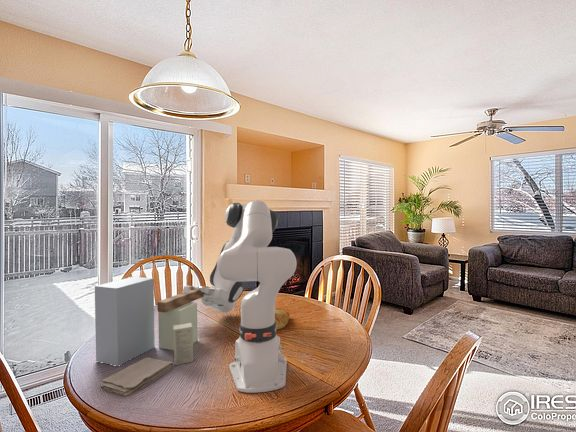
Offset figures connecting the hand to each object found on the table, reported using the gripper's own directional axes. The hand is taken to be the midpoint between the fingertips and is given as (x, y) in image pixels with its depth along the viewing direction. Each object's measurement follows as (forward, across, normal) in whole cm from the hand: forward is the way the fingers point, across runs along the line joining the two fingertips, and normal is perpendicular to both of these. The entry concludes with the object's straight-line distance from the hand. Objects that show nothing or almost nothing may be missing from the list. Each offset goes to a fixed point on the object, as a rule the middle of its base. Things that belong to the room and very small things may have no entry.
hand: (194, 287), depth 128 cm
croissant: (-28, +28, +7) cm, 40 cm away
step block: (-1, 0, +22) cm, 22 cm away
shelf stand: (+10, -12, +28) cm, 33 cm away
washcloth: (+19, +4, +34) cm, 40 cm away
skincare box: (+8, +11, +27) cm, 30 cm away
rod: (+3, 0, +7) cm, 7 cm away
